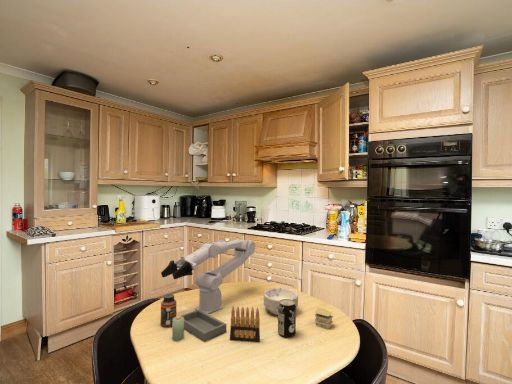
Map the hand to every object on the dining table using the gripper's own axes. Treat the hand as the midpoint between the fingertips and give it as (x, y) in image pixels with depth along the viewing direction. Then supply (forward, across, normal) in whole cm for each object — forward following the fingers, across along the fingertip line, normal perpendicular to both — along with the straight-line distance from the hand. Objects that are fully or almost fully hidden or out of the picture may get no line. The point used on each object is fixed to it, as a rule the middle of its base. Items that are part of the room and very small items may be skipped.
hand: (167, 276), depth 109 cm
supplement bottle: (+4, -4, +20) cm, 20 cm away
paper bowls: (-33, +23, +34) cm, 52 cm away
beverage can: (-18, +35, +31) cm, 50 cm away
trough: (-2, +8, +22) cm, 24 cm away
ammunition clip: (-6, +26, +26) cm, 37 cm away
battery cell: (+8, +7, +20) cm, 22 cm away
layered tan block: (-33, +43, +36) cm, 65 cm away
